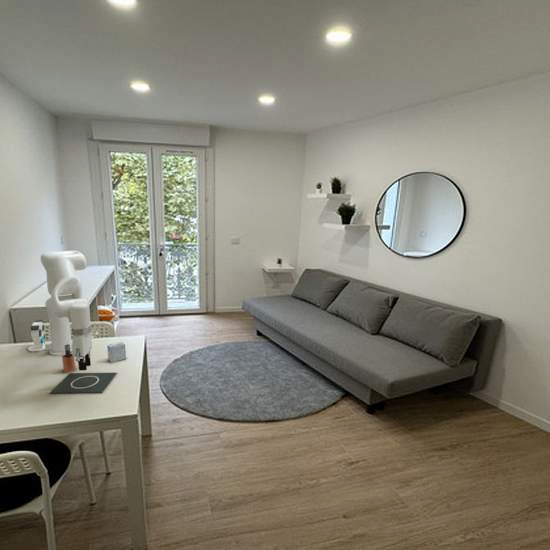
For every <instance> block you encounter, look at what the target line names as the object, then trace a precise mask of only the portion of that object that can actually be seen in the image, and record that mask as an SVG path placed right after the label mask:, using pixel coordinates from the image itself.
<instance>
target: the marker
mask: <svg viewBox="0 0 550 550" xmlns="http://www.w3.org/2000/svg"><path fill="white" fill-rule="evenodd" d="M71 354H72V352H71V353H70V345H69V344H68V345H65V354H64V355H66V358H68V357H71Z"/></svg>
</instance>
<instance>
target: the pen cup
mask: <svg viewBox="0 0 550 550" xmlns="http://www.w3.org/2000/svg"><path fill="white" fill-rule="evenodd" d="M61 359H62V360H61V361H62V369H63V372H64V373H72V372H75V370H76V360H75V359H76V357H73V354H72V353H71V357H68V358H66V355H65V354H62V356H61Z"/></svg>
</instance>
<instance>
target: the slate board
mask: <svg viewBox="0 0 550 550" xmlns="http://www.w3.org/2000/svg"><path fill="white" fill-rule="evenodd" d="M116 375H117V372H69V374H67V376H65V377H64V378H63V379H62V380H61V381H60V382H59V383H58V384H57V386H55V388H53V389H52V390H51V391H50V393H49V394H50V395H51V394H52V395H57V394H58V395H59V394H63V395H64V394H65V395H67V394H102V393H103V392H104V391H105V389H106V388H107V387H108V385H110V383H111V382H112V380H113V379H114V377H115V376H116Z"/></svg>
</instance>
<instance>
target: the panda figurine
mask: <svg viewBox="0 0 550 550" xmlns="http://www.w3.org/2000/svg"><path fill="white" fill-rule="evenodd" d="M30 336H31V339H32V341H33V344H32V345H30V346H28V347H27V351H29V352H40V351H45V350H47V349H49V348H45V344H51V343H50V342H45V338H46V334H45V325H44V319H35V320H34V322H33V323H32V324H31V325H30Z"/></svg>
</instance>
